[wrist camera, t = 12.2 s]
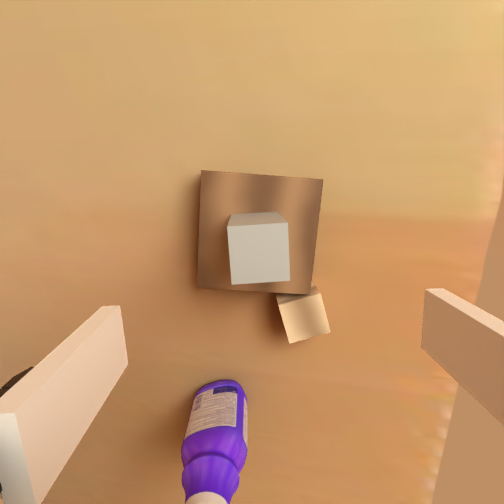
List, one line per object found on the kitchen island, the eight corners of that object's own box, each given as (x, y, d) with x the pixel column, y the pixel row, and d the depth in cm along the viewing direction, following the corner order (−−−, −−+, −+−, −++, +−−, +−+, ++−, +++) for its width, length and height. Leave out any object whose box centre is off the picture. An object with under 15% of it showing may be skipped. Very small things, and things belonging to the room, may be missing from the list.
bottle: (202, 419, 47) (177, 557, 30) (189, 385, 45) (155, 509, 28) (251, 405, 46) (255, 538, 29) (239, 371, 45) (236, 487, 28)
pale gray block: (234, 259, 37) (231, 284, 28) (231, 214, 36) (227, 226, 27) (279, 256, 37) (290, 280, 28) (277, 211, 36) (287, 222, 27)
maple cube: (284, 325, 44) (289, 343, 39) (274, 290, 43) (278, 305, 38) (321, 314, 44) (330, 332, 39) (311, 280, 43) (320, 293, 38)
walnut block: (202, 275, 42) (196, 287, 38) (206, 171, 40) (201, 170, 35) (302, 281, 43) (309, 294, 38) (313, 179, 40) (323, 179, 35)
